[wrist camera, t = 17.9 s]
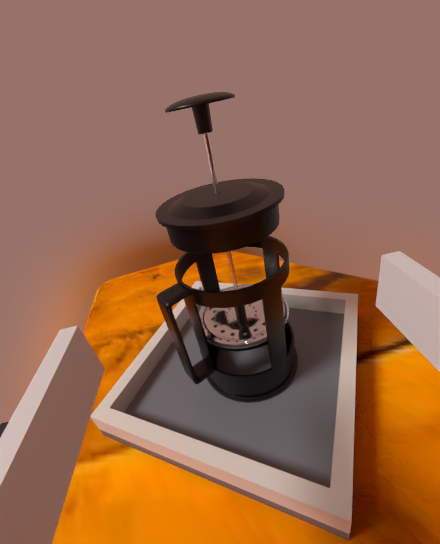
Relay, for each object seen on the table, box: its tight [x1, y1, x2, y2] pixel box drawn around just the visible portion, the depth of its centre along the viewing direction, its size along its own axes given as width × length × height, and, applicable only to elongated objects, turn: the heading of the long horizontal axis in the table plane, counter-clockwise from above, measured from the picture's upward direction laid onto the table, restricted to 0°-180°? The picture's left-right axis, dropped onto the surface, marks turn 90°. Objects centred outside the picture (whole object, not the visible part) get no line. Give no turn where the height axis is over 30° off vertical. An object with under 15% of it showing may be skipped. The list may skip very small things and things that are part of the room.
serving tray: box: [90, 281, 358, 540], centre depth 28 cm, size 20×20×3 cm
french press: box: [156, 92, 298, 403], centre depth 22 cm, size 12×9×23 cm
